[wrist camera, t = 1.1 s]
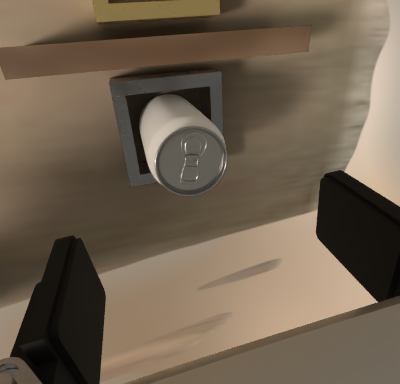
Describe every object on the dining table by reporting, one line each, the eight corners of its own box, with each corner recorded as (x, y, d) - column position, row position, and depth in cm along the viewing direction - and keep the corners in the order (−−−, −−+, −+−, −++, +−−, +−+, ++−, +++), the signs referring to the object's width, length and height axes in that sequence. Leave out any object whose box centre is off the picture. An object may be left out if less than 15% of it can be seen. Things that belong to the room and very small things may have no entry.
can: (200, 96, 31) (240, 123, 21) (192, 152, 34) (225, 201, 24) (139, 89, 29) (151, 116, 19) (137, 149, 32) (146, 201, 22)
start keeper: (215, 159, 35) (224, 171, 32) (129, 173, 33) (130, 186, 30) (211, 68, 30) (221, 71, 27) (110, 78, 28) (109, 82, 25)
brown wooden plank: (271, 49, 31) (308, 51, 25) (31, 70, 26) (5, 79, 20) (272, 28, 30) (311, 25, 24) (23, 46, 25) (-7, 48, 19)
